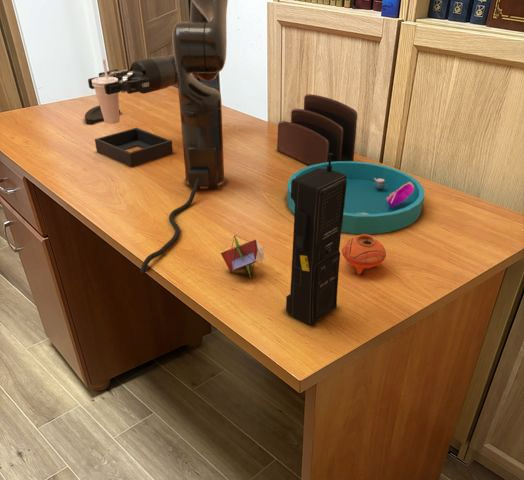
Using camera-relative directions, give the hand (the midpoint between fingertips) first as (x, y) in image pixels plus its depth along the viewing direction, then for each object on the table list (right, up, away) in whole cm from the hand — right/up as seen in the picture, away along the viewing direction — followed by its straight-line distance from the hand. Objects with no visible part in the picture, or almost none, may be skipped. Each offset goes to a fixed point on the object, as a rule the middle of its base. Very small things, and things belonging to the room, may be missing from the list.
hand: (97, 86), depth 127 cm
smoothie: (+2, -6, +7) cm, 9 cm away
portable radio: (+47, -57, -40) cm, 84 cm away
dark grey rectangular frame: (+5, -10, +16) cm, 19 cm away
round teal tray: (+60, -30, -7) cm, 68 cm away
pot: (+58, -48, -29) cm, 81 cm away
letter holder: (+53, -12, +14) cm, 56 cm away
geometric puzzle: (+36, -49, -30) cm, 68 cm away
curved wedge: (-12, +10, +40) cm, 43 cm away
